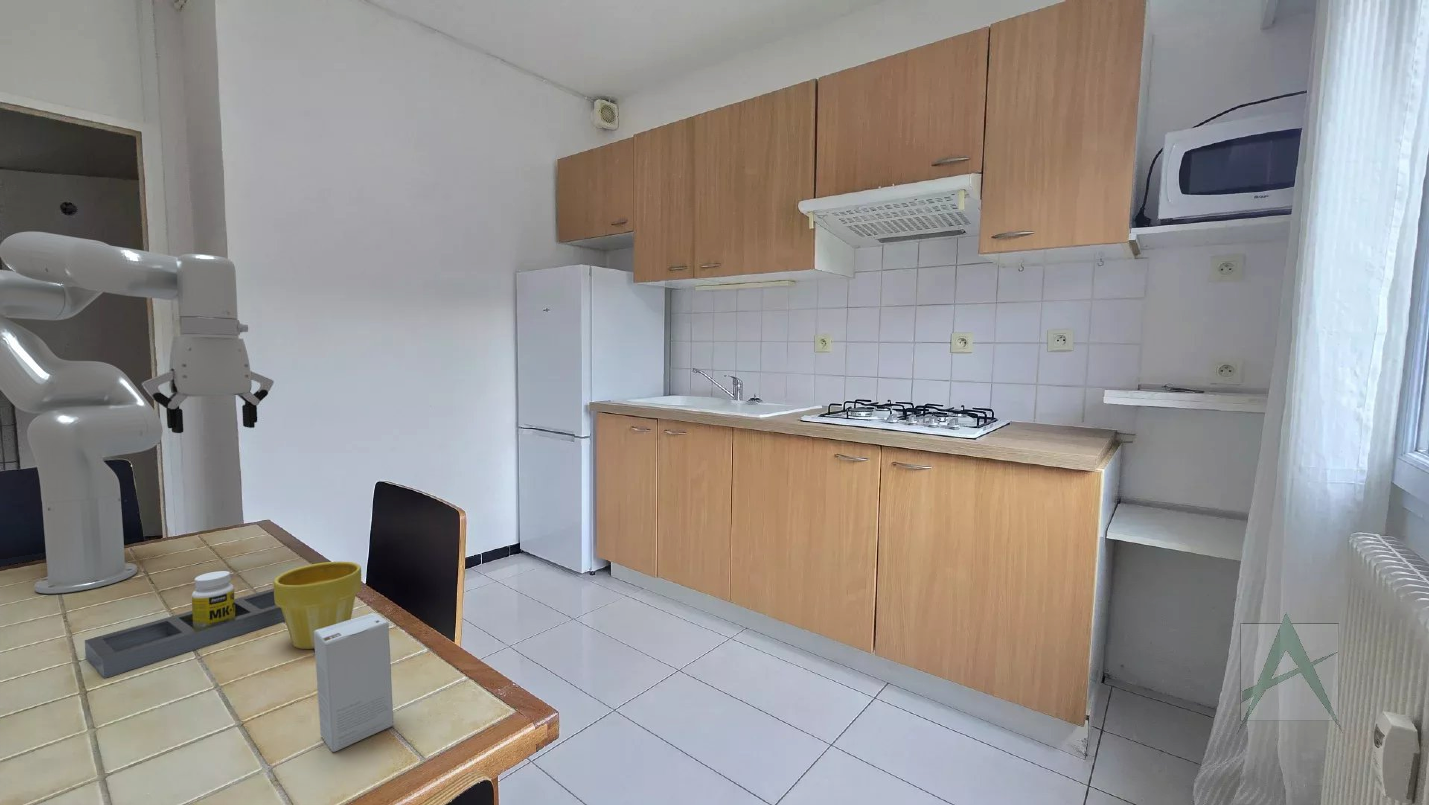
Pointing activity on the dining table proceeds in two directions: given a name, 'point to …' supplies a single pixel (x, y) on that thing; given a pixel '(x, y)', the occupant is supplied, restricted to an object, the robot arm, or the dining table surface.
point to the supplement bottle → (212, 599)
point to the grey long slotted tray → (177, 635)
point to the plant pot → (316, 598)
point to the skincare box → (353, 680)
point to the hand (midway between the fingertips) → (214, 429)
